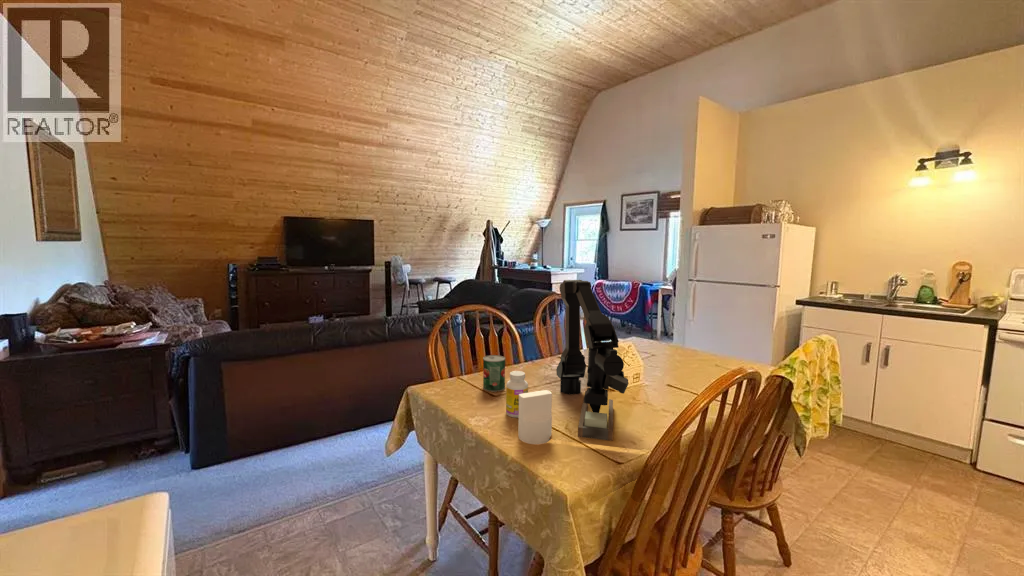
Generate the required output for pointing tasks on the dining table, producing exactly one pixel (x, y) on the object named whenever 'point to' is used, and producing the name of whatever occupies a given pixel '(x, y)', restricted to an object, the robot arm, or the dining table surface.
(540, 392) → the cylinder with rectangular tab
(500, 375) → the canned tomato
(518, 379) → the supplement bottle
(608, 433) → the chute
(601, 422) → the block
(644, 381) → the dining table surface
